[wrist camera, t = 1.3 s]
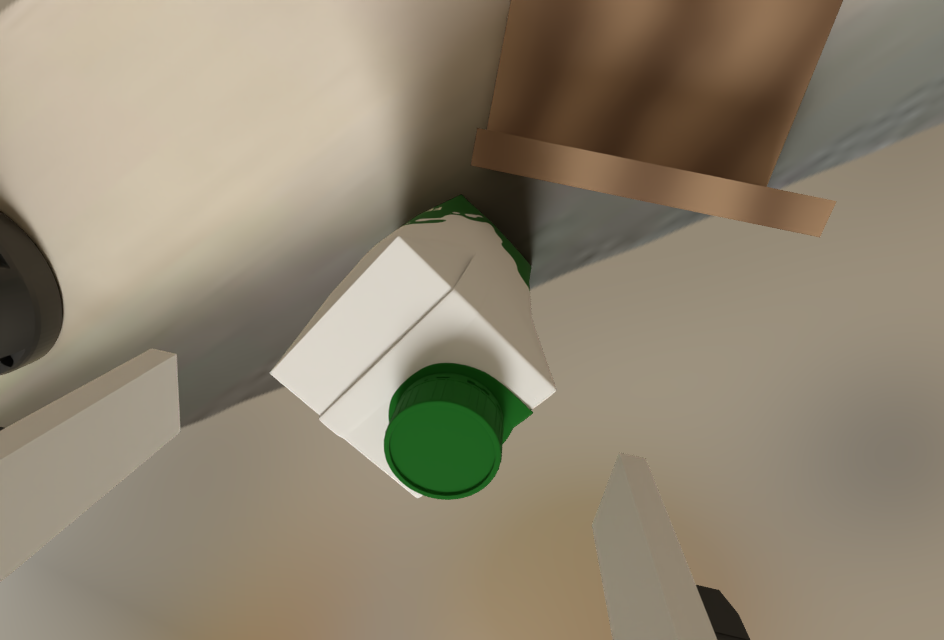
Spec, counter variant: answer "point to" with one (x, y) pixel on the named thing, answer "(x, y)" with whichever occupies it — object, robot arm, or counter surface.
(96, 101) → the counter surface
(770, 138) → the u rest
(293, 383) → the soya milk
